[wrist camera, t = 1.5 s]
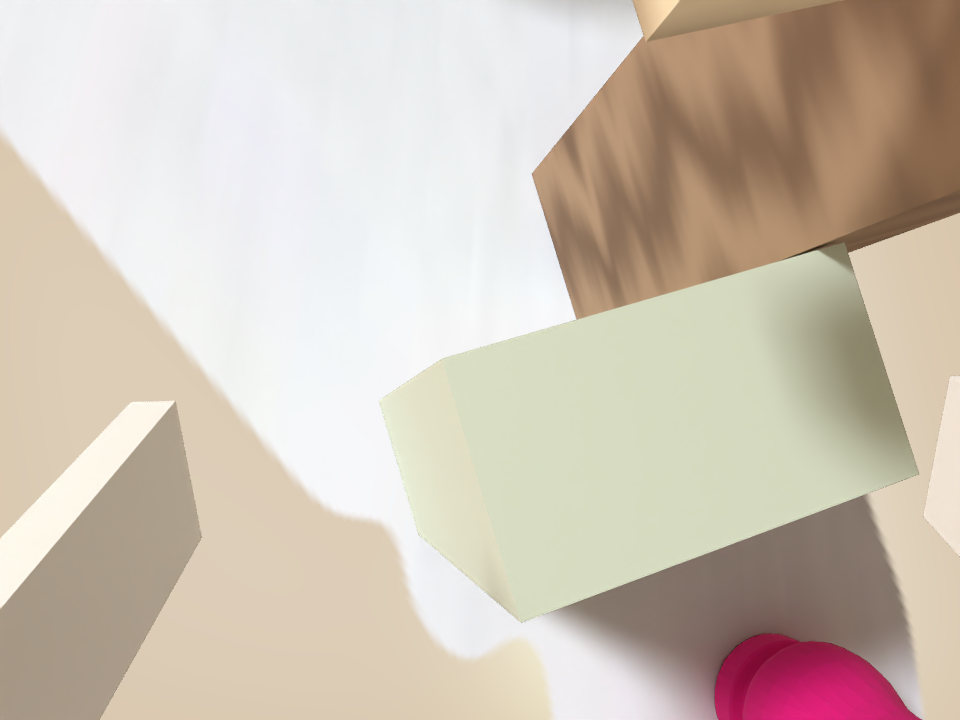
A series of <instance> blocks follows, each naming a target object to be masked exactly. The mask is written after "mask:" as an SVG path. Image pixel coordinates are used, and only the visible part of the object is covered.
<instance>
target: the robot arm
mask: <svg viewBox="0 0 960 720" xmlns="http://www.w3.org/2000/svg"><path fill="white" fill-rule="evenodd" d="M923 517H924V518H925V519H926V520H927V521H928V523H929V524H930V525H931V526H932V527H933V528H934V529H935V530H936V531H937V532H938V534H939V535H941V537H942V538H943V539H944V540H945V541H946V542H947V543H948V544H949V545H950V546H951V548H952V549H953V550H954V551H955V552H956V553H957V554H958V555H959V557H960V376H950V378H949V383H948V388H947V393H946V399H945V404H944V409H943V414H942V420H941V425H940V430H939V435H938V440H937V446H936V451H935V456H934V461H933V467H932V472H931V477H930V483H929V487H928V492H927V498H926V503H925V508H924V514H923ZM201 538H202V536H201V531H200V526H199V521H198V515H197V510H196V505H195V500H194V495H193V490H192V485H191V479H190V474H189V469H188V463H187V458H186V453H185V448H184V443H183V437H182V433H181V427H180V422H179V417H178V411H177V406H176V401H156V402H131V403H130V404H129V405H128V406H127V407H126V408H125V409H124V410H123V411H122V412H121V413H120V415H118V416H117V417H116V419H115V420H114V421H113V422H112V423H111V424H110V425H109V426H108V427H107V428H106V429H105V430H104V431H103V432H102V433H101V434H100V435H99V436H98V437H97V438H96V439H95V440H94V441H93V442H92V444H91V445H90V446H89V447H88V448H87V449H86V450H85V451H84V452H83V453H82V454H81V455H80V456H79V457H78V458H77V459H76V460H75V461H74V462H73V463H72V464H71V466H69V468H68V469H67V470H66V471H65V472H64V473H63V474H62V475H61V476H60V477H59V478H58V479H57V480H56V481H55V482H54V483H53V484H52V485H51V486H50V487H49V488H48V489H47V490H46V491H45V492H44V494H43V495H42V496H41V497H40V498H39V499H38V500H37V501H36V502H35V503H34V504H33V505H32V506H31V507H30V508H29V509H28V510H27V511H26V512H25V513H24V515H23V516H22V517H21V518H20V519H19V520H18V521H17V522H16V523H15V524H14V525H13V526H12V527H11V528H10V529H9V530H8V531H7V532H6V533H5V534H4V535H3V536H2V538H1V539H0V720H100V718H101V716H102V715H103V713H104V711H105V709H106V707H107V706H108V704H109V702H110V700H111V698H112V697H113V695H114V693H115V691H116V690H117V688H118V686H119V684H120V682H121V680H122V679H123V677H124V675H125V673H126V672H127V670H128V668H129V666H130V665H131V663H132V661H133V659H134V657H135V656H136V654H137V652H138V650H139V649H140V647H141V645H142V643H143V641H144V640H145V638H146V636H147V634H148V632H149V631H150V629H151V627H152V625H153V624H154V622H155V620H156V618H157V616H158V615H159V613H160V611H161V609H162V607H163V606H164V604H165V602H166V600H167V599H168V597H169V595H170V593H171V591H172V589H173V588H174V586H175V584H176V583H177V581H178V579H179V577H180V575H181V573H182V571H183V570H184V568H185V566H186V564H187V563H188V561H189V559H190V558H191V556H192V554H193V552H194V550H195V549H196V547H197V545H198V543H199V541H200V540H201Z"/></svg>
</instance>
